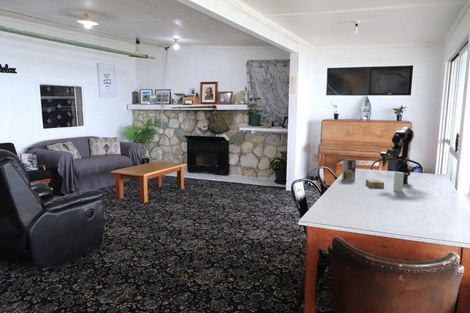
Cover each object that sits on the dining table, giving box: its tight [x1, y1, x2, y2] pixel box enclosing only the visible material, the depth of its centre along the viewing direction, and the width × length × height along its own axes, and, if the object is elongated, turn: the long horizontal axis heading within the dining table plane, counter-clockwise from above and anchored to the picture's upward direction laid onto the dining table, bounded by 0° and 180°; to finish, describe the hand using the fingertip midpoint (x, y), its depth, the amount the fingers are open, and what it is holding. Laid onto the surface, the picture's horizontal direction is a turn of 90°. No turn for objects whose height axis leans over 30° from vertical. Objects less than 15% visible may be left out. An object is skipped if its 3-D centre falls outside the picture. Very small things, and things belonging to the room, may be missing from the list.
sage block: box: [393, 171, 405, 193], centre depth 255 cm, size 4×4×13 cm
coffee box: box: [341, 158, 357, 181], centre depth 291 cm, size 9×6×16 cm
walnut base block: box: [365, 178, 385, 189], centre depth 269 cm, size 10×10×4 cm
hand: (389, 168), depth 260 cm, fingers open, 9 cm apart
